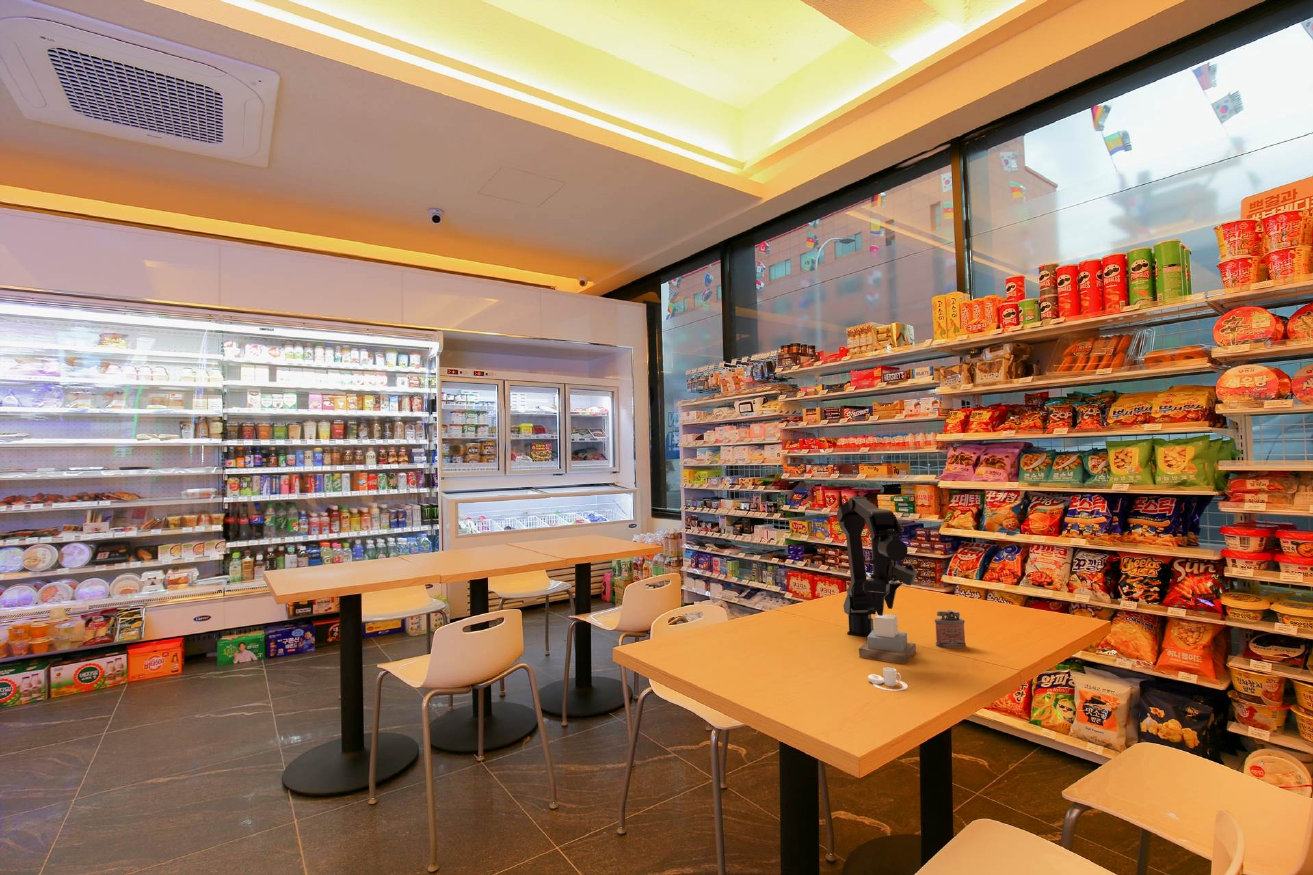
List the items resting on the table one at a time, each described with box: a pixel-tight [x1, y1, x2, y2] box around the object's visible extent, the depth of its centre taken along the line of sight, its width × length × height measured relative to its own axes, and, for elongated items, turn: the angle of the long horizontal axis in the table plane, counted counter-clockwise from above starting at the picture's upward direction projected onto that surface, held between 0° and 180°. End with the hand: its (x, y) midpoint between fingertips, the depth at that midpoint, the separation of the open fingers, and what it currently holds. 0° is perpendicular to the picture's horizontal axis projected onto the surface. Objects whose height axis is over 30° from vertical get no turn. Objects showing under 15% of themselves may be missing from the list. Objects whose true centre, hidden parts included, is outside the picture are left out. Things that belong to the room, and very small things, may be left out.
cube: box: [873, 613, 899, 638], centre depth 171 cm, size 5×5×5 cm
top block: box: [866, 629, 908, 652], centre depth 171 cm, size 9×9×3 cm
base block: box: [858, 641, 917, 665], centre depth 171 cm, size 12×12×3 cm
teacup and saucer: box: [867, 666, 909, 692], centre depth 148 cm, size 9×8×4 cm
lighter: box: [934, 609, 967, 649], centre depth 177 cm, size 8×3×10 cm, turn 84°
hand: (885, 611), depth 171 cm, fingers open, 9 cm apart
